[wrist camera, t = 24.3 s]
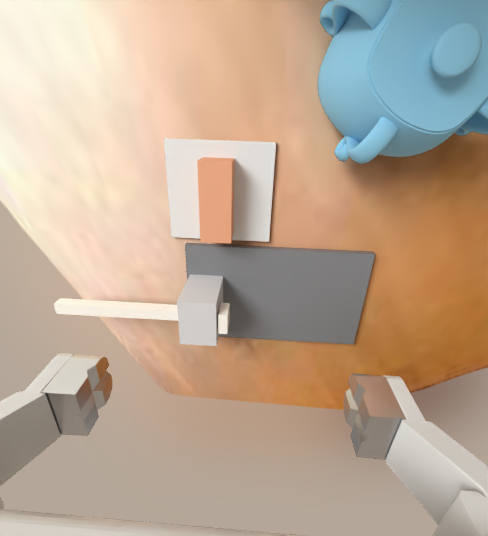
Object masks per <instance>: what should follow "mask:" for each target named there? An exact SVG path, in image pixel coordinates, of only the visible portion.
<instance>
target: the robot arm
mask: <svg viewBox="0 0 488 536" xmlns="http://www.w3.org/2000/svg"><path fill="white" fill-rule="evenodd" d="M108 366H109V364H108V360H107V358H105V357H100V356H90V355H79V354H65V353H60V354H59V355H56V356H55V357H54V358H53V360H52V361H51V362H50V363H49V364H48V365H47V366H46V367H45V368H44V370H43V371H42V372H41V373H40V374H39V375H38V376H37V377H36V378H35V380H34V381H33V382H32V383H31V384H30V385H29V386H28V388H27V389H26V390H25V391H24V392H17V393H15V394H13V395H11V396H10V397H8V398H6V399H4V400H2V401H0V486H1V485H2V484H4V483H5V482H6V481H7V480H8V479H10V478H11V477H12V476H13V475H15V474H16V473H17V472H18V471H19V470H21V469H22V468H23V467H24V466H25V465H26V464H28V463H29V462H30V461H31V460H33V459H34V458H35V457H36V456H37V455H39V454H40V453H41V452H42V451H44V450H45V449H46V448H47V447H48V446H50V445H51V444H52V443H53V442H54V441H56V440H57V439H58V438H59V437H60V436H61V435H82V436H88V435H89V433H90V431H91V429H92V428H93V426H94V424H95V422H96V420H97V419H98V411H97V410H98V409H100V408H101V407H102V406H104V405H105V404H106V402H107V401H108V399H109V397H110V393H111V390H112V377H111V375H110V374H109V373H108V372H107V371H106V370H107V368H108ZM348 384H349V387H350V389H349V390H347V391H346V392H345V396H344V412H345V413H344V414H345V417H346V421H347V423H348V424H349V425H350V426H351V427H352V428H353V429H352V432H351V439H352V443H353V446H354V449H355V453H356V456H357V457H364V458H373V459H383V460H385V462H386V463H387V464H388V466H389V467H390V468H391V469H392V470H393V471H394V473H395V474H396V475H397V476H398V478H399V479H400V480H401V481H402V482H403V484H404V485H405V486H406V487H407V488H408V490H409V491H410V492H411V493H412V494H413V496H414V497H415V498H416V499H417V500H418V501H419V503H420V504H421V505H422V506H423V507H424V509H425V510H426V511H427V512H428V513H429V515H430V516H431V517H432V518H433V520H434V521H435V522H436V523H437V524H438V527H437V529H436V531H435V532H434V533H433V535H432V536H488V467H487V466H486V465H485V464H484V463H482V462H481V461H480V460H479V459H477V458H476V457H475V456H474V455H472V454H471V453H470V452H469V451H467V450H466V449H465V448H463V447H462V446H461V445H460V444H458V443H457V442H456V441H454V440H453V439H452V438H451V437H450V436H448V435H447V434H446V433H444V432H443V431H442V430H441V429H439V428H438V427H437V426H436V425H434V424H433V423H432V422H428V421H425V419H424V417H423V415H422V413H421V412H420V410H419V408H418V406H417V405H416V403H415V401H414V399H413V397H412V396H411V394H410V392H409V390H408V389H407V387H406V385H405V383H404V381H403V380H402V378H400V377H399V376H384V375H383V376H381V375H367V374H351V375H350V377H349V380H348ZM60 434H61V435H60ZM3 508H4V507H3V501H2V500H1V498H0V536H303V535H291V534H280V533H268V532H257V531H246V530H235V529H223V528H212V527H200V526H188V525H177V524H166V523H153V522H143V521H131V520H119V519H108V518H97V517H85V516H73V515H62V514H51V513H39V512H27V511H16V510H5V509H3Z"/></svg>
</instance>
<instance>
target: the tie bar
mask: <svg viewBox="0 0 488 536" xmlns="http://www.w3.org/2000/svg"><path fill="white" fill-rule="evenodd" d="M54 307H55V311H56V313H57V314H70V315H88V316H106V317H123V318H141V319H159V320H176V321H178V312H177V305H173V304H154V303H136V302H118V301H100V300H81V299H62V298H60V299H59V300H58V301H57V302H55V303H54ZM229 320H230V303H221V305H220V307H219V309H218V313H217V321H218V334H227V333H228V327H229Z"/></svg>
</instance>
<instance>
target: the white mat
mask: <svg viewBox="0 0 488 536" xmlns="http://www.w3.org/2000/svg"><path fill="white" fill-rule="evenodd" d="M164 148H165V160H166V173H167V185H168V198H169V211H170V223H171V236H172V237H178V238H200V221H199V193H198V165H197V160H199V159H201V158H203V157H211V158H235V179H234V234H233V238H232V240H242V241H263V242H269V235H270V221H271V207H272V193H273V179H274V165H275V151H276V142H253V141H225V140H197V139H168V138H164Z"/></svg>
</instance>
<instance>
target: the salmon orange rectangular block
mask: <svg viewBox="0 0 488 536" xmlns="http://www.w3.org/2000/svg"><path fill="white" fill-rule="evenodd" d="M197 165H198V193H199V221H200V242H210V243H231V242H232V238H233V234H234V179H235V158H211V157H203V158H201V159H199V160H197Z"/></svg>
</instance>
